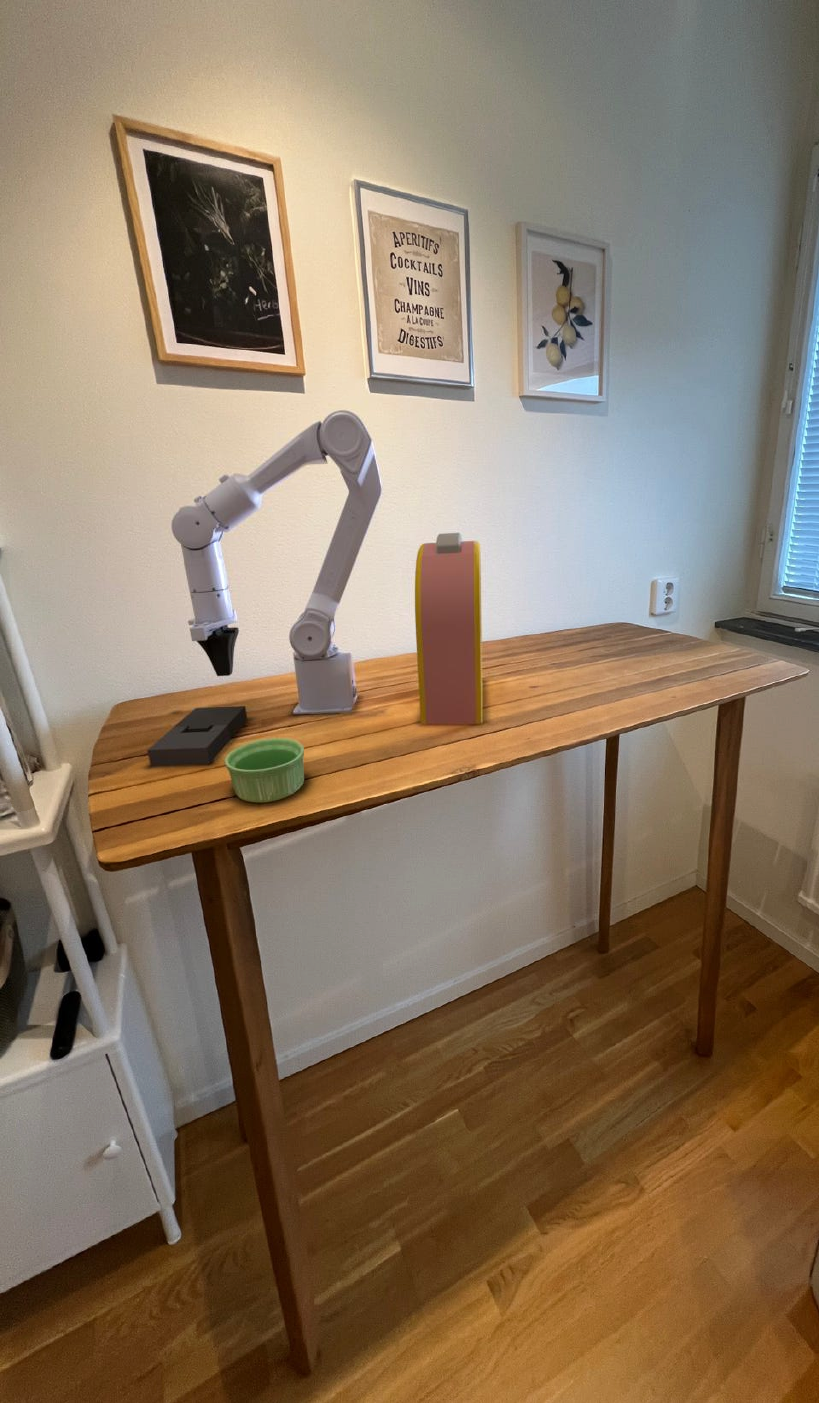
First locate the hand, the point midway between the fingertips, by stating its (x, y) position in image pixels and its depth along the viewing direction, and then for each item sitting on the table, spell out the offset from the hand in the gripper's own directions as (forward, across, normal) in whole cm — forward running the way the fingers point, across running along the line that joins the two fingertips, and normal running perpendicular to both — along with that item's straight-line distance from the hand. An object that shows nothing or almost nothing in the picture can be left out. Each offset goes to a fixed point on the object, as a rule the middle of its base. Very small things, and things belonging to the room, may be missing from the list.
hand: (224, 674), depth 89 cm
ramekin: (+7, +27, +14) cm, 31 cm away
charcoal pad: (+7, +16, 0) cm, 17 cm away
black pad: (+7, +8, 0) cm, 10 cm away
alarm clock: (+7, -1, +37) cm, 38 cm away
